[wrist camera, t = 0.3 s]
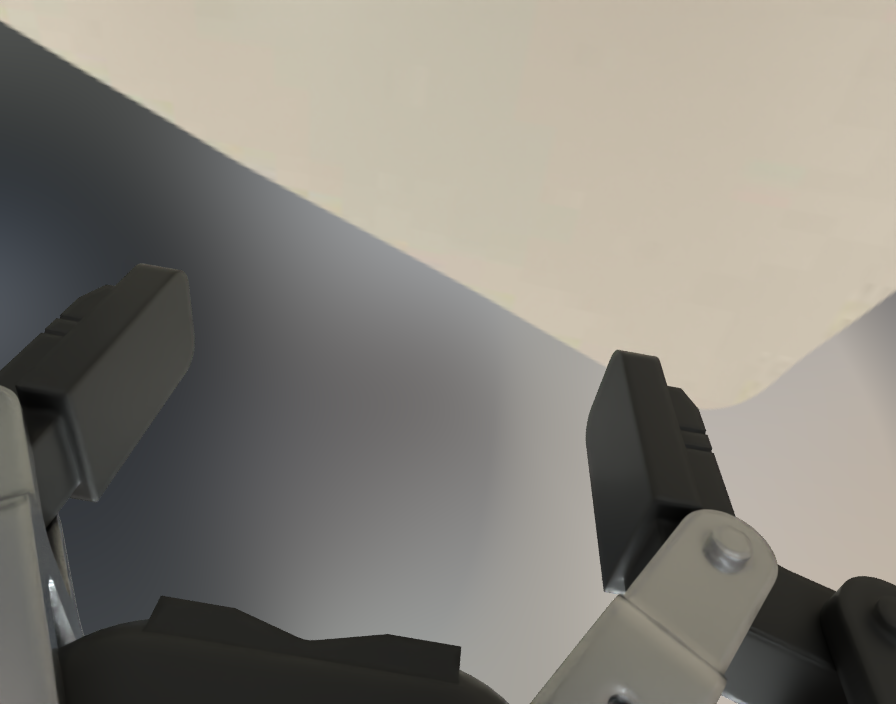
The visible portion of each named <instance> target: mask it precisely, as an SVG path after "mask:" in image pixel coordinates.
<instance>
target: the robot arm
mask: <svg viewBox="0 0 896 704" xmlns="http://www.w3.org/2000/svg"><path fill="white" fill-rule="evenodd" d="M194 347H195V336H194V327H193V319H192V309H191V300H190V291H189V282H188V278H187V276H186V274H185V273H184V272H183V271H181V270H176V269H170V268H164V267H159V266H153V265H147V264H142V263H141V264H138V265H136V266H135V267H134V268H133V269H132V270H131V271H130V272H129V273H128V274H127V275H126V276H125V277H124V278H123V279H122V280H121V281H120V282H119V283H118V284H117V285H116V286H111V285H105V286H102V287H100V288H98V289H96V290H94V291H92V292H90V293H88V294H85V295H83V296H81V297H79V298H78V299H77V300H76V301H75V302H74V303H73V304H72V305H70V306H69V307H68V308H67V309H66V310H65V311H64V312H63V313H62V314H61V315H60V319H58V318H56V319H55V320H54V321H53V322H52V323H51V324H50V325H49V326H48V327H47V328H46V329H45V333H41V334H39V335H38V336H37V337H36V338H35V339H34V340H33V341H32V342H31V343H30V344H29V345H27V346H26V347H25V348H24V349H23V350H22V351H21V352H20V353H19V354H18V355H17V356H16V357H15V358H13V359H12V360H11V361H10V362H9V363H8V364H7V365H6V366H5V367H4V368H3V369H2V370H1V371H0V704H509V703H508V702H506V701H505V699H504V698H502V697H501V696H500V695H499V694H497V693H496V692H495V691H494V690H492V689H491V688H490V687H489V686H487V685H486V684H484V683H483V682H481V681H479V680H478V679H476V678H474V677H473V676H471V675H469V674H467V673H465V672H463V671H461V670H459V668H460V667H459V666H460V655H461V647H460V646H454V645H448V644H442V643H437V642H430V641H425V640H419V639H413V638H407V637H401V636H395V635H390V634H385V635H372V636H362V637H350V638H338V639H325V640H311V641H310V640H304V639H301V638H298V637H296V636H294V635H292V634H290V633H288V632H285V631H283V630H281V629H279V628H277V627H275V626H272V625H270V624H268V623H266V622H264V621H261V620H259V619H257V618H255V617H253V616H251V615H249V614H246V613H244V612H242V611H240V610H238V609H236V608H230V607H224V606H219V605H213V604H207V603H201V602H195V601H189V600H183V599H177V598H171V597H165V596H161V597H160V599H159V601H158V603H157V605H156V607H155V609H154V611H153V613H152V615H151V617H150V619H147V620H138V621H133V622H128V623H123V624H118V625H115V626H112V627H108V628H105V629H101V630H99V631H96V632H94V633H91V634H89V635H86V636H84V635H83V631H82V628H81V624H80V620H79V616H78V611H77V606H76V601H75V595H74V590H73V584H72V580H71V574H70V568H69V563H68V558H67V553H66V547H65V541H64V536H63V531H62V525H61V521H60V518H59V515H58V512H59V511H60V509H61V508H62V507H63V505H64V504H65V503H66V501H67V500H68V498H74V499H80V500H85V501H91V502H98V500H99V499H100V497H101V496H102V494H103V493H104V491H105V490H106V489H107V487H108V486H109V484H110V483H111V481H112V480H113V478H114V477H115V475H116V474H117V473H118V471H119V470H120V468H121V467H122V465H123V464H124V462H125V461H126V459H127V458H128V457H129V455H130V454H131V452H132V451H133V449H134V448H135V446H136V445H137V443H138V442H139V441H140V439H141V438H142V436H143V435H144V433H145V432H146V430H147V429H148V427H149V426H150V424H151V423H152V422H153V420H154V419H155V417H156V416H157V414H158V413H159V411H160V410H161V408H162V407H163V406H164V404H165V403H166V401H167V400H168V398H169V397H170V395H171V394H172V392H173V391H174V390H175V388H176V387H177V385H178V384H179V382H180V381H181V379H182V378H183V376H184V375H185V374H186V372H187V370H188V368H189V366H190V364H191V361H192V358H193V354H194ZM705 432H706V429H705V426H704V423H703V421H702V418H701V415H700V412H699V409H698V408H697V407H696V406H695V404H694V403H693V402H692V401H691V400H690V398H689V397H688V396H687V395H686V394H685V392H684V391H683V390H682V389H681V388H676V387H671V386H667V383H666V380H665V377H664V373H663V370H662V367H661V363H660V360H659V359H658V358H657V357H655V356H649V355H644V354H638V353H633V352H627V351H621V350H616V351H615V352H614V353H613V355H612V357H611V359H610V361H609V364H608V366H607V369H606V372H605V374H604V377H603V379H602V382H601V384H600V387H599V389H598V392H597V395H596V397H595V400H594V402H593V405H592V407H591V410H590V413H589V417H588V421H587V428H586V448H587V456H588V464H589V473H590V480H591V489H592V497H593V506H594V514H595V522H596V530H597V539H598V547H599V556H600V564H601V572H602V580H603V589H604V592H608V593H614V594H619V595H618V596H617V597H616V598H615V599H614V600H613V601H612V602H611V603H610V605H609V606H608V607H607V608H606V610H605V611H604V612H603V613H602V614H601V616H600V617H599V618H598V619H597V621H596V622H595V623H594V624H593V626H592V627H591V628H590V629H589V631H588V632H587V633H586V634H585V636H584V637H583V638H582V639H581V641H580V642H579V643H578V644H577V646H576V647H575V648H574V649H573V651H572V652H571V653H570V654H569V655H568V657H567V658H566V659H565V661H564V662H563V663H562V664H561V666H560V667H559V668H558V669H557V670H556V672H555V673H554V674H553V675H552V677H551V678H550V679H549V680H548V682H547V683H546V684H545V686H544V687H543V688H542V689H541V691H540V692H539V693H538V694H537V695H536V697H535V698H534V699H533V700H532V702H531V703H530V704H716V703H717V701H718V700H719V698H720V696H721V695H722V696H724V697H726V698H728V699H730V700H732V701H734V702H736V703H738V704H896V586H895V585H893V584H891V583H889V582H886V581H884V580H881V579H877V578H874V577H867V576H858V577H854V578H851V579H849V580H847V581H846V582H845V583H844V584H843V585H842V586H841V587H840V588H839V589H838V591H837V592H836V591H834V590H832V589H830V588H827V587H825V586H822V585H821V584H818V583H816V582H814V581H811V580H809V579H807V578H805V577H802V576H800V575H798V574H796V573H793V572H791V571H789V570H787V569H785V568H783V567H781V566H779V565H778V564H777V560H776V558H775V555H774V553H773V551H772V549H771V547H770V546H769V544H768V543H767V542H766V540H765V539H764V538H763V537H762V536H761V535H760V534H759V533H758V532H757V531H756V530H755V529H754V528H752V527H751V526H750V525H748V524H747V523H745V522H744V521H742V520H740V519H739V518H737V517H736V516H735V514H734V511H733V508H732V505H731V502H730V499H729V496H728V493H727V490H726V487H725V484H724V482H723V479H722V476H721V473H720V470H719V467H718V465H717V461H716V458H715V455H714V453H712V452H711V450H712V447H711V444H710V441H709V438H708V435H705Z"/></svg>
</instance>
